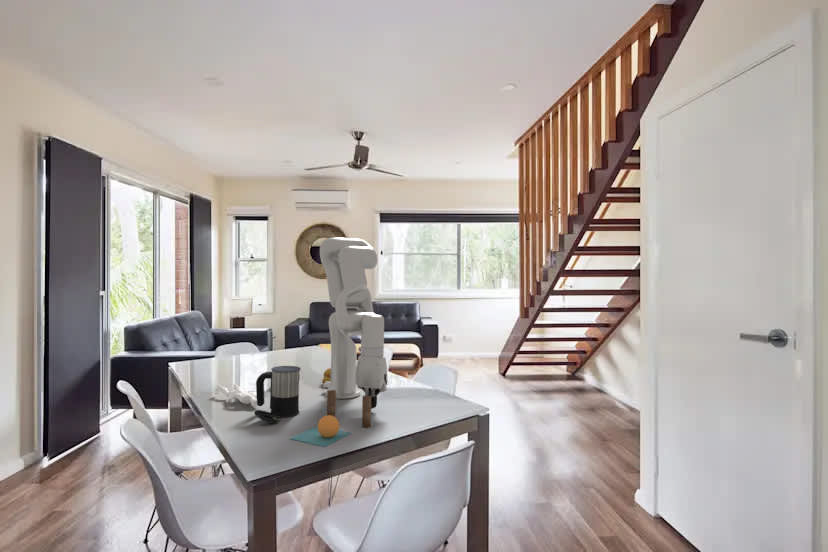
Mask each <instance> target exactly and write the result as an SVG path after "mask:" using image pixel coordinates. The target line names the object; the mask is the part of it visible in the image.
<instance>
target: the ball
mask: <svg viewBox="0 0 828 552" xmlns="http://www.w3.org/2000/svg"><path fill="white" fill-rule="evenodd" d="M317 426H318V432H319V433H320V435H321V436H323V437H325V438H331V437H333V436H335V435H336V434H337V433H338V431H339V430H340V421H339V420H338V418H337V417H334V416H332V415H327V414H326V415H324V416H323V417H321V418H320V419H319V421H318V423H317Z"/></svg>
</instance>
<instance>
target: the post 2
mask: <svg viewBox="0 0 828 552" xmlns="http://www.w3.org/2000/svg"><path fill="white" fill-rule="evenodd" d="M361 401H362V405H361V406H362V408H361V411H362V413H361V414H362V416H361V418H362V419H361V427H362V428H363V429H368V428H371V427H372V409H371V396H370V395H365V394H364V395H362V400H361Z"/></svg>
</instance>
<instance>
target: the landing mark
mask: <svg viewBox="0 0 828 552" xmlns="http://www.w3.org/2000/svg"><path fill="white" fill-rule="evenodd" d="M351 434H352V432H351V431H346V430H340V429H339V431H338V433H337V434H336V435H335V436H333V437H331V438H325V437H323V436H321V435H320V433H319V432H318V425H317V426H315V427H313V428H310V429H308V430H306V431H303V432H301V433H299V434H296V435H294V436H292V437H290V438H289V440H294V441H298V442H302V443H306V444H310V445H315V446H318V447H319V446H320V447H323V448H325V447H328V446H329V445H332V444H333V443H335V442H338V441H339V440H341V439H343V438H345V437H347V436H349V435H351Z"/></svg>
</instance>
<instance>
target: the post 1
mask: <svg viewBox="0 0 828 552" xmlns="http://www.w3.org/2000/svg"><path fill="white" fill-rule="evenodd" d="M326 392H327V395H326V398H327V399H326V402H327V403H326V405H327V407H326V416H327V415H332V416H334V417H336V416H337V415H336V409H337V408H336V404H337V403H336V402H337V401H336V400H337V399H336V390H326ZM336 418H337V417H336Z"/></svg>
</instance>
